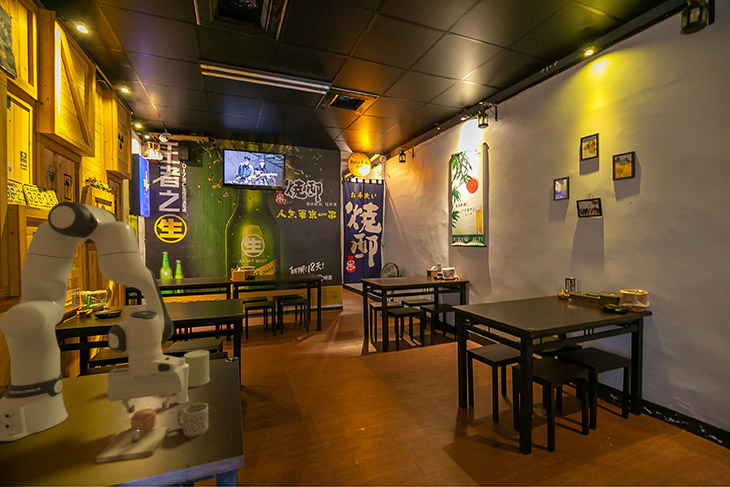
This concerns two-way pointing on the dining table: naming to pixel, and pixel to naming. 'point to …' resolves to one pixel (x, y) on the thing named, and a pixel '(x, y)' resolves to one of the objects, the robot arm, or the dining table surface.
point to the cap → (143, 419)
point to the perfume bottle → (182, 395)
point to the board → (133, 445)
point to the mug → (194, 419)
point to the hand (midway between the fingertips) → (148, 410)
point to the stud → (135, 435)
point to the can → (197, 367)
